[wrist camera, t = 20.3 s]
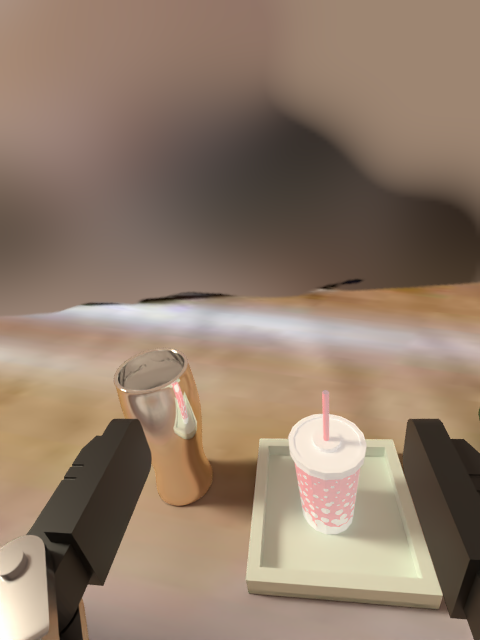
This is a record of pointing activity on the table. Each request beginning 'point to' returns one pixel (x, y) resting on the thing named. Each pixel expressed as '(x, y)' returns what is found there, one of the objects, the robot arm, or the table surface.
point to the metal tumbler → (167, 421)
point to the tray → (340, 537)
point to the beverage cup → (327, 468)
